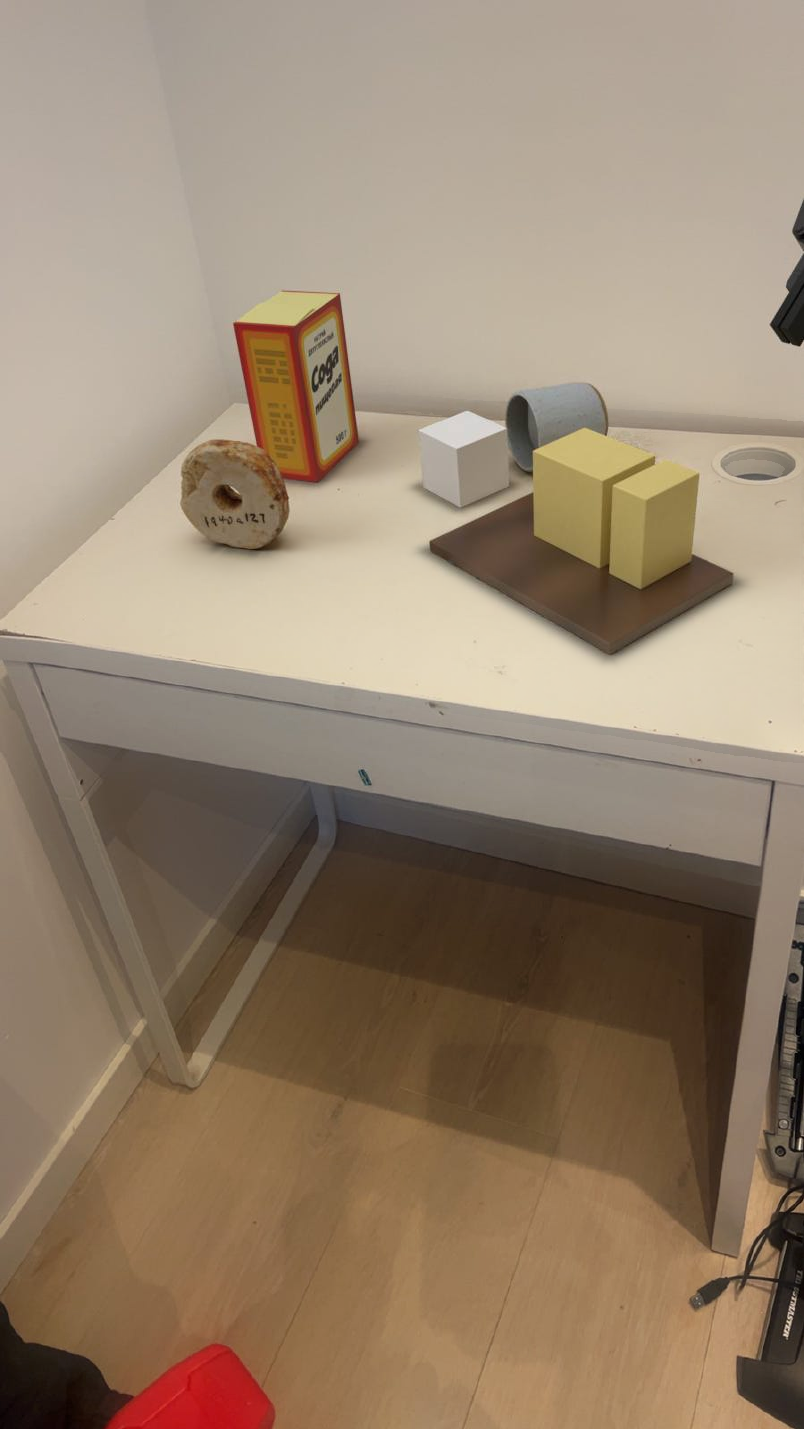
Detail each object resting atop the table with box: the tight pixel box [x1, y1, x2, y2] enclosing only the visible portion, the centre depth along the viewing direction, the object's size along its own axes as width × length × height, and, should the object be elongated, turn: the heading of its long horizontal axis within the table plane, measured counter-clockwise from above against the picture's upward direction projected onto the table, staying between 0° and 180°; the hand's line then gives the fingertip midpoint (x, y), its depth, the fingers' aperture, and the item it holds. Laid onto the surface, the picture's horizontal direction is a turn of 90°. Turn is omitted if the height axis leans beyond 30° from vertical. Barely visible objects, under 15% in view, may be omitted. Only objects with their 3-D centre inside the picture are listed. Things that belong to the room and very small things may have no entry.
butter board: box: [429, 492, 735, 655], centre depth 88 cm, size 22×14×1 cm, turn 37°
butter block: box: [532, 428, 656, 569], centre depth 87 cm, size 8×6×8 cm
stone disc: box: [179, 438, 291, 550], centre depth 94 cm, size 10×4×10 cm, turn 69°
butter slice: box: [609, 459, 700, 589], centre depth 83 cm, size 4×6×8 cm, turn 127°
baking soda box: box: [232, 289, 360, 483], centre depth 104 cm, size 10×6×16 cm
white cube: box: [417, 410, 510, 509], centre depth 99 cm, size 6×6×6 cm
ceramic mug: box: [504, 381, 609, 473], centre depth 103 cm, size 11×8×8 cm
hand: (784, 335), depth 82 cm, fingers closed
